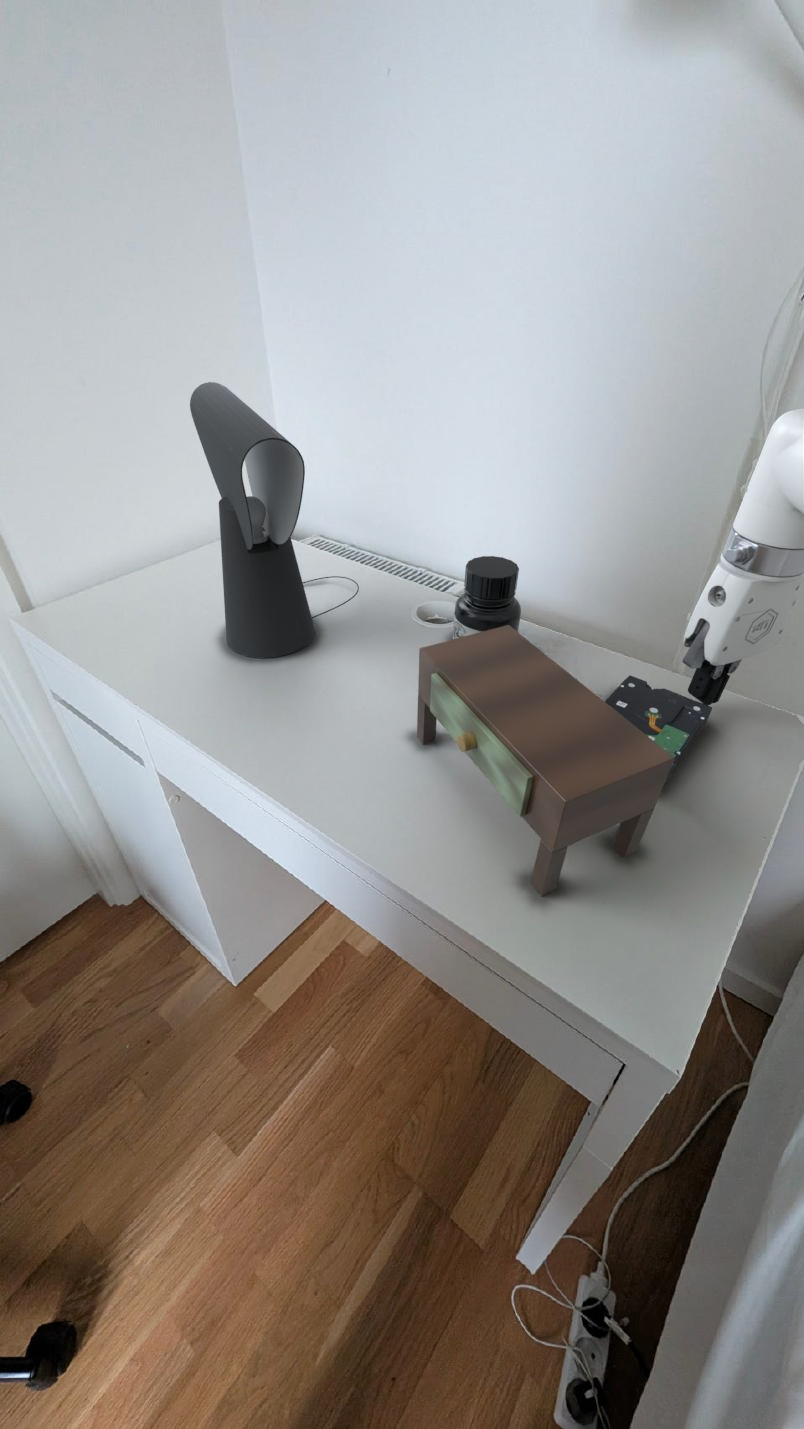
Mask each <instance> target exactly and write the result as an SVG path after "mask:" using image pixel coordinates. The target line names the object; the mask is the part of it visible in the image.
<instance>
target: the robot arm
mask: <svg viewBox="0 0 804 1429" xmlns="http://www.w3.org/2000/svg"><path fill="white" fill-rule="evenodd" d="M719 560H720V561H719V562H718V563H717V565H716V566H715V568H714V570H713V572H712V574H711V575H710V577H709V579H708V581H707V583H706V585H705V586H704V589H703V591H702V592H701V594H700V596H699V598H698V600H697V603H696V605H695V607H694V609H693V612H692V614H691V617H690V619H689V621H688V624H687V625H686V626H687V627H686V630H685V633H684V636H683V640H682V641H683V642H682V643H683V646H684V647H685V648H688V650H686V652H685V655H684V656H683V658H682V660H681V661H682V663H683V664H684V665H685V666H687V667H688V668H689V669H695V671H694V674H693V676H692V678H691V680H690V682H689V685H688V688H687V692H688V694H689V695H691V696H692V697H694V698H695V699H696V700H698V702H700V703H703V704H705V705H708V706H711V705H712V704H716V703H718V702H719V701H720V699H721V697H722V694H723V692H724V691H725V688H726V686H727V684H728V681H729V679H730V678H731V674H734V673H735V672H736V670H737V669H738V667H739V666H740V663H741V662H742V661H743V660H744V659H747V658H750V657H753V656H756V655H759V654H762V653H765V652H768V651H770V650H771V649H773V648H774V647H775V646H776V645H777V643H778V641H779V640H780V638H781V636H782V634H783V632H784V629H785V627H786V626H787V623H788V622H789V618H790V616H791V614H792V611H793V610H794V608H795V604H796V603H797V600H798V597H799V594H800V592H801V589H802V585H803V582H804V408H797V409H793V410H788V411H786V412H785V413H783V414H781V415H780V416H779V417H778V418H777V419H776V420H775V422H773V423H772V426H771V427H770V430H769V432H768V434H767V437H766V439H765V442H764V444H763V447H762V449H761V452H760V455H759V458H758V460H757V462H756V466H755V468H754V469H753V472H752V475H751V477H750V480H749V483H748V485H747V487H746V489H745V493H744V496H743V498H742V501H741V502H740V506H739V508H738V511H737V513H736V516H735V518H734V521H733V524H732V526H731V529H730V531H729V534H728V536H727V539H726V541H725V543H724V547H723V549H722V551H721V554H720V557H719Z"/></svg>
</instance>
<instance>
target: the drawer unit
mask: <svg viewBox="0 0 804 1429" xmlns="http://www.w3.org/2000/svg"><path fill="white" fill-rule="evenodd" d="M418 652H419V653H418V654H419V655H418V683H417V684H418V686H417V688H418V689H417V692H418V693H417V719H416V720H417V721H416V737H417V738H418V740H419V741H420V742H421V744H422V745H426V744H429V743H432V742H435V741H436V735H437V734H436V733H437V721H438V722H439V724H440V725H441V726H442V727H443V728H444V729H445V731H446V732H447V733H448V734H449V735H450V737H451V738H452V739H453V740H454V741H455V742H456V745H457V747H458V749H459V750H460V752H462V753H465V754H466V755H467V756H468V758H469V759H470V760H471V762H473V764H474V765H475V766H476V767H477V769H479V771H480V772H481V773H482V774H483V776H485V777H486V779H487V780H488V781H489V782H490V784H491V785H492V786H493V787H494V789H495V790H496V791H497V792H498V793H499V794H500V796H502V798H503V799H504V800H505V802H506V803H507V804H508V805H509V806H510V807H511V809H513V811H514V812H515V813H516V814H517V815H518V816H519V818H521V817H522V818H523V820H524V821H525V822H526V824H528V825H529V827H530V828H531V829H532V831H533V832H534V833H535V834H536V835H537V836H538V838H540V840H539V841H540V842H539V845H538V849H537V854H536V857H535V861H534V865H533V869H532V874H531V879H530V881H529V882H530V884H531V886H532V887H533V888H534V889H535V891H536V892H537V893H538V894H539V896H540V897H543V896H545V895H547V894H549V893H552V892H553V891H556V889H557V886H558V882H559V880H560V876H561V872H562V869H563V865H564V863H565V859H566V855H567V853H568V852H567V851H568V848H569V846H571V845H574V844H577V843H578V842H581V841H583V840H585V839H587V838H589V837H592V836H595V835H597V834H598V833H602V832H603V831H605V830H607V829H610V828H612V827H615V826H617V825H618V829H617V831H616V834H615V837H614V839H613V842H612V847H613V848H614V849H615V850H616V851H617V853H619V854H620V856H621V857H623V858H626V857H629V856H630V855H633V854H635V853H636V852H638V849H639V847H640V844H641V842H642V840H643V838H644V837H643V836H644V834H645V832H646V829H647V827H648V826H649V823H650V820H651V818H652V815H653V812H654V809H655V807H656V805H657V803H658V800H659V798H660V795H661V794H662V791H663V787H664V786H665V784H666V783H665V781H666V778H667V776H668V773H669V771H670V769H671V766H672V764H673V761H674V759H675V758H674V757H673V756H672V755H670V754H669V753H668V752H667V751H665V750H664V749H663V748H662V747H660V746H659V745H658V744H657V743H655V742H654V741H653V740H652V739H650V738H649V737H648V736H647V735H645V734H644V733H643V732H642V731H640V730H639V729H638V728H637V727H635V726H634V725H633V724H632V723H630V722H629V721H628V720H627V719H625V718H624V717H623V716H622V715H620V714H619V713H618V712H617V711H615V710H614V709H613V708H612V707H610V706H609V705H608V704H607V703H605V700H603V699H602V698H600V697H599V696H598V695H597V694H596V693H594V692H593V690H590V689H589V688H588V687H587V686H586V685H585V684H583V683H582V682H580V680H578V679H577V678H575V677H574V676H573V675H572V674H570V673H569V672H568V671H567V670H565V669H564V668H563V667H562V666H561V665H560V664H558V663H557V662H555V660H553V659H552V658H551V657H549V656H548V655H547V654H545V653H544V652H543V651H542V650H540V649H539V648H538V647H537V646H536V645H535V644H533V643H532V642H531V641H529V640H528V639H527V638H526V637H525V636H524V635H522V634H521V633H520V632H519V631H518V632H517V631H516V630H514V629H513V628H512V627H511V626H509V625H506V626H502V627H499V628H495V629H491V630H487V631H483V632H479V633H476V634H472V635H468V636H464V637H460V638H457V639H453V638H452V639H450V640H445V641H441V642H438V643H434V644H430V645H427V646H423V647H419V651H418ZM666 782H667V781H666ZM664 783H665V784H664Z"/></svg>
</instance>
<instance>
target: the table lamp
mask: <svg viewBox="0 0 804 1429" xmlns="http://www.w3.org/2000/svg"><path fill="white" fill-rule="evenodd" d="M189 408H190V414H191V418H192V420H193V424H194V426H195V429H196V433H197V435H198V438H199V441H200V444H201V447H202V450H203V453H204V456H205V458H206V461H207V463H208V467H209V470H210V472H211V475H212V478H213V480H214V482H215V485H216V488H217V491H218V493H219V495H220V497H221V498H220V499H219V501H218V514H219V516H218V517H219V531H220V532H219V533H220V549H221V550H220V552H221V570H222V586H223V587H222V588H223V603H224V620H225V621H224V622H225V623H224V624H225V638H226V644H227V646H228V647H229V648H230V649H231V650H232V651H234V652H235V653H237V654H239V655H242V656H244V657H245V656H246V657H250V658H255V659H257V658H258V659H269V658H279V657H283V656H286V655H290V654H294V653H295V652H296V653H297V652H298V651H299V650H302V649H303V648H305V647H306V646H308V645H309V644H310V643H311V642H312V641H313V639H314V637H315V635H316V629H315V628H316V627H315V624H314V622H313V619H314V618H317V617H319V616H321V615H324V614H326V613H328V612H330V611H333V610H335V609H337V608H340V607H341V606H343V605H345V604H346V603H348V602H349V601H351V600H352V599H353V598H354V597H356V596H357V594H358V593H359V589H360V586H359V584H358V583H357V582H356V581H355V580H354V579H353V578H349V577H347V576H338V575H337V576H336V575H334V576H333V575H332V576H323V577H318V578H315V579H309V580H307V581H303V579H302V575H301V571H300V568H299V564H298V563H299V562H298V559H297V556H296V552H295V549H294V544H293V541H292V535H293V533H294V531H295V529H296V525H297V522H298V519H299V516H300V512H301V511H300V510H301V506H302V502H303V501H302V500H303V493H304V486H305V477H306V468H305V467H306V466H305V460H304V458H303V456H302V454H301V452H300V451H299V449H298V448H297V447H296V446H295V445H294V444H293V443H291V442H290V441H289V440H288V439H287V438H286V437H285V436H284V435H282V434H281V433H280V432H279V431H277V429H275V428H274V427H273V426H272V425H270V423H268V422H267V421H266V420H265V419H264V418H263V417H262V416H260V414H258V413H257V412H256V411H255V410H253V408H251V407H250V406H249V405H247V404H246V403H245V402H244V401H243V400H242V399H241V398H240V397H238V396H237V395H236V394H235V393H234V392H232V391H231V390H230V389H229V387H227V386H225V385H223V384H221V383H220V382H219V383H218V382H215V381H208V382H204V383H202V384H199V385H198V386H197V387H196V388H194V390H193V392H192V394H191V396H190V400H189ZM244 464H245V468H246V474H247V478H248V484H249V487H250V491H251V496H250V495H248V496H247V492H246V489H245V483H244V478H243V466H244ZM330 578H340V579H341V578H342V579H346V580H350V581H352V582H353V583H355V585H356V587H357V590H356V592H355V593H354V595H353V596H352V597H350V598H349V599H347V600H345V601H344V602H342V603H341V604H339V605H337V606H334V607H332V608H330V609H328V610H325V611H324V612H320V613H319V614H316V615H313V616H312V614H311V610H310V606H309V602H308V598H307V594H306V590H305V587H304V584H306V583H310V582H313V581H317V580H318V581H319V580H322V579H330Z"/></svg>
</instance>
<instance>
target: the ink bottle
mask: <svg viewBox="0 0 804 1429" xmlns="http://www.w3.org/2000/svg"><path fill="white" fill-rule="evenodd" d="M464 571H465V573H464V584H463V585H464V592H463V593H462V594H460V596H459V597H458V598H457V600H456V601H455V606H454V612H453V613H454V614H453V630H452V640H453V639H457V638H460V637H464V636H468V635H472V634H476V633H479V632H483V631H487V630H491V629H495V628H499V627H502V626H506V625H509V626H511V627H512V628H513V629H514V630H516V631H517V632H518V633H519V629H520V622H521V616H522V606H521V604H520V602H519V600H518V599H517V598H516V597H515V596H516V593H517V592H516V590H517V587H518V578H519V572H520V568H519V566H518V564H517V563H516V562H514V561H513V560H512V559H508V558H505V557H501V556H495V555H482V556H478V557H473V558H472V559H470V560H468V561H467V563H466V565H465V570H464Z"/></svg>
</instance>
